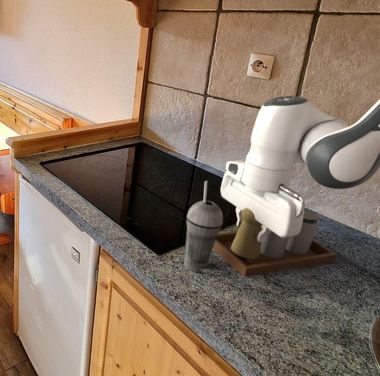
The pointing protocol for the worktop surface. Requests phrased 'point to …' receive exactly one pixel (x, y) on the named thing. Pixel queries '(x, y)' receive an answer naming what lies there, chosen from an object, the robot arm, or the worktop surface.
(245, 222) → the cork
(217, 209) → the beverage cup
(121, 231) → the worktop surface
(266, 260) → the spice tray
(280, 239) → the cylinder
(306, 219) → the grey shaker
